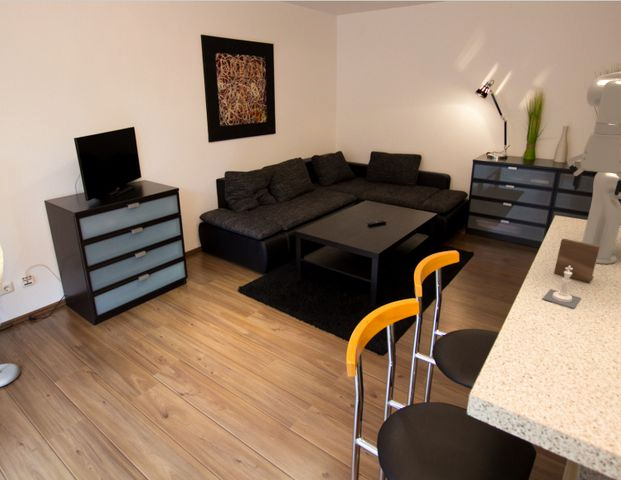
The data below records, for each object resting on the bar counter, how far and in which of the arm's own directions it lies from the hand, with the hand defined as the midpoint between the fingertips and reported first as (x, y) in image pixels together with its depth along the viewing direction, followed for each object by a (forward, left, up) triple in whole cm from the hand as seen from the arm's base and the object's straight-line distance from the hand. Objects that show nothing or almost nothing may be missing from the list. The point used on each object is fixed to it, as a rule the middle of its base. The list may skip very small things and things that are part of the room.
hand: (596, 191), depth 116 cm
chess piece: (+13, 0, -29) cm, 32 cm away
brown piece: (-7, -2, -29) cm, 30 cm away
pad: (+13, 0, -29) cm, 32 cm away
